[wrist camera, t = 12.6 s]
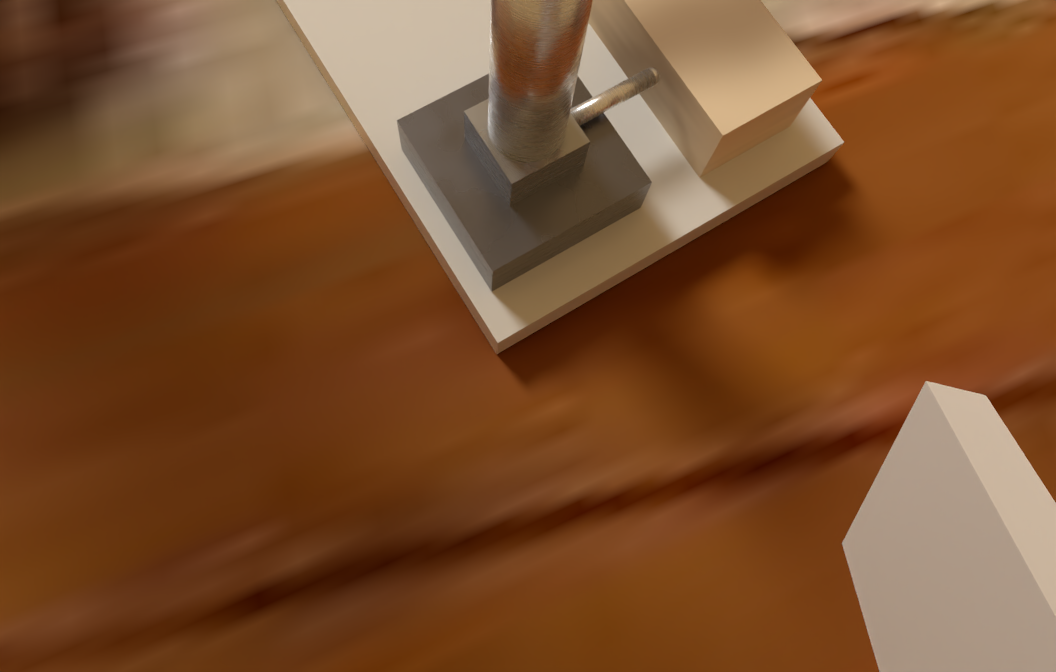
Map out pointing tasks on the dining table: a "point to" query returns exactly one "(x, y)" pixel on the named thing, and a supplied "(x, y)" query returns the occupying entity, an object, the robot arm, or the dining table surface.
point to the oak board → (709, 71)
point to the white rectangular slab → (676, 191)
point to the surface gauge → (527, 144)
